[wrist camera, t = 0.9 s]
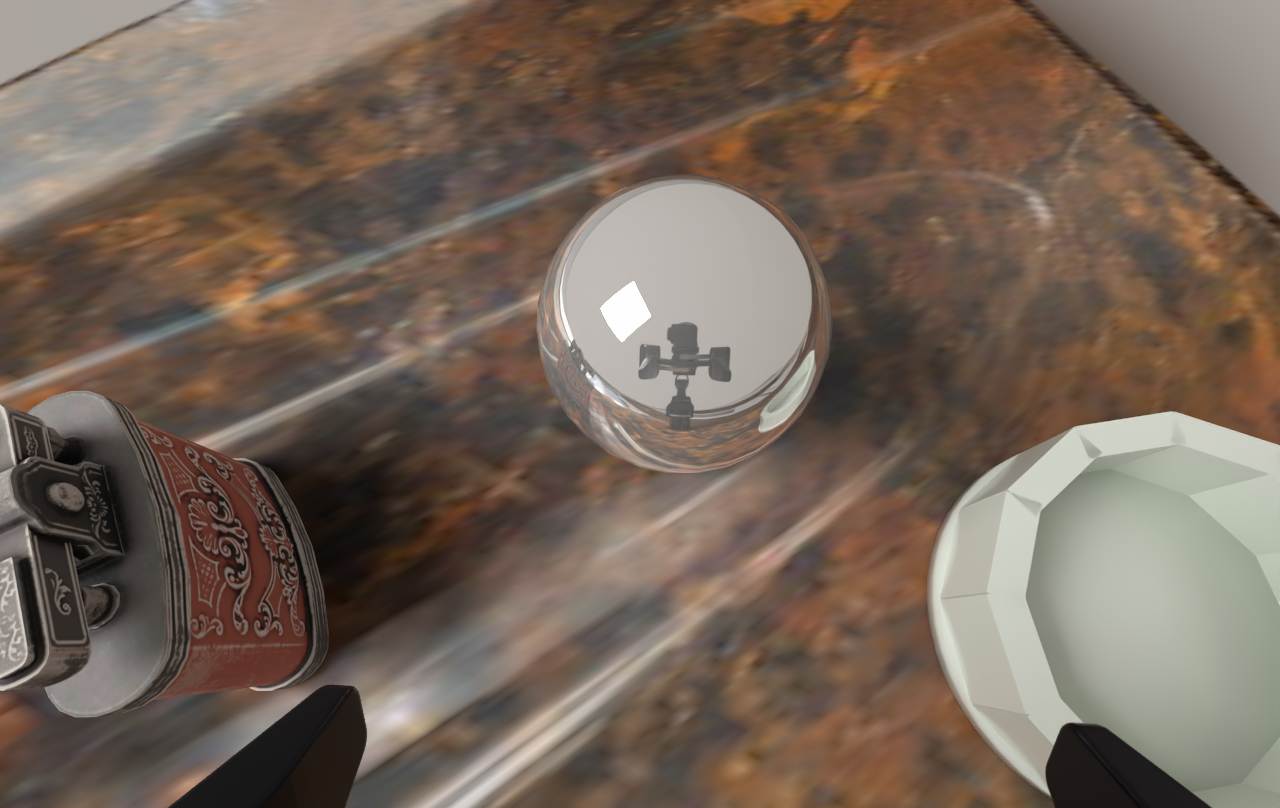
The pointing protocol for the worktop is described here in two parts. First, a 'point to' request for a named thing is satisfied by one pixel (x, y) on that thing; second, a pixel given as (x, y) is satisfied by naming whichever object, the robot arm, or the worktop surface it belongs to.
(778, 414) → the light bulb
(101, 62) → the worktop surface
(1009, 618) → the bulb holder
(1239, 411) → the worktop surface
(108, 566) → the lighter
